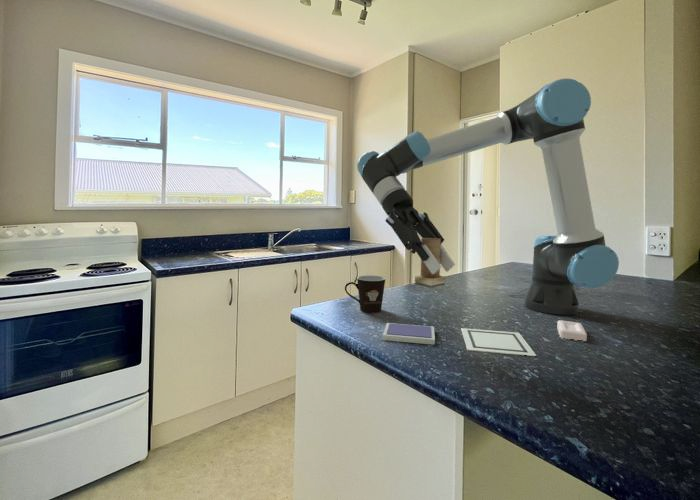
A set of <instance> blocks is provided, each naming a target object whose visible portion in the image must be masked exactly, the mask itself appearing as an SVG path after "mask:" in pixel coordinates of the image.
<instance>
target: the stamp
mask: <svg viewBox="0 0 700 500" xmlns="http://www.w3.org/2000/svg"><path fill="white" fill-rule="evenodd" d="M420 240H421V242H422V246H423V245H426V246H427V247H428V248H429V250H430V251H431V253H432V254H433V255H434V257H435V258H436V260H437V261H438V262H439V264H440V245H442V243H441V239H440V238H422V237H421V238H420ZM440 265H441V264H440ZM440 273H441V268H440V269H439V270H438V271H437V272H436V273H435V274H432V273H431V272H430V270H429V269H428V267H427V266H426V264H425V263H424V261H422V260H421V259H420V274H418V275H415V276H414V283H415V285H418V286H423V287H426V288H430V289H431V288H437V287H440V286H445V283H446V276H444V275H441V274H440Z"/></svg>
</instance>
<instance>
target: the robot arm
mask: <svg viewBox="0 0 700 500" xmlns="http://www.w3.org/2000/svg"><path fill="white" fill-rule="evenodd" d="M591 105H592V97H591V94H590V91H589V89H588V88H587V87H586V86H585V85H584V84H583V83H582V82H579V81H578V80H576V79H573V78H560V79H556V80H554V81H552V82H550V83H548V84H545V85H544V86H542V87H541V88H540V89H539V90H538V91H537V92H535V93H533V94H532V95H531V96H529V97H528V98H526V99H525V100H523V101H522V102H521V103H518V104H517V105H515V106H514V107H511V108H509V109H507V110H505V111H501V112H499V113H498V114H497V116H496V117H493V118H490V119H487V120H484V121H481V122H478V123H475V124H472V125H468V126H465V127H462V128H459V129H456V130H452V131H449V132H445V133H443V134H440V135H437V136H434V137H429V138H426V137H425V135H424V134H423V133H422V132H420V131H418V130H416V131H413V132H412V133H410V134H408V135H406V136H405V137H404V138H403V139H401V140H400V141H398V142H396V143H395V144H394V145H392V146H391V147H390V148H388V149H387V150H385V151H383V152H382V153H379V152H377V151H374V150H371V151H367V152H365V153H364V154H362V155H361V156H360V158H359V159H358V161H357V165H356V170H357V172H358V173H359V175H360V177H361V179H362V180H363V182H364V183H365V185H366V186H367V187H368V188H369V190H370V191H371V193H372V195H373V196H374V197H375V199H376V200H377V202H378V203H379V204H380V206H381V207H382V209H383V211H384V212H385V214H386V215H387V217H386V218H385V223H387V224H388V225H389V226H390V227H391V229H392V230H393V232H394V233H395V234H396V236H397V238H398V239H399V240H400V242H401V243H402V245H403V247H405V249H406V250H407V251H410V253H411V254H413V255H414V254H417V255H418V257H419V258H420V261H421V260H422V261H424V263H425V264H426V266H427V267H428V269H429V270H430V272H431V273H432V274H435V273H436V272H437V271H438V270H439V269H440V270H441V268H443V270H444V271H445V272H446V273H447V272H449V271H450V270H451V269H452V268H453V267H455V265H456V263H455V262H454V260H453V259H452V258H451V256H450V255H449V254H448V252H447V251H446V249H445V248H444V247H443V245H442V244H443V242H445V239H444V237H443V236H442V234H441V233H440V231H439V230H438V229H437V228H436V226H435V225H434V223H433V222H432V221H431V219H430V217H429V215H428V213H427V212H423V213H419V211H418V210H417V209H416V208H415V207H414V200H413V198H412V197H411V195H410V193H409V192H408V191H407V190H406V188H405V187H404V186H403V184H402V182H400V180H399V179H398V178H397V177H398V176H400V175H401V174H406V173H409V172H411V171H413V170H417V169H420V168H422V167H425V166H429V165H432V164H436V163H439V162H442V161H446V160H449V159H452V158H455V157H458V156H462V155H465V154H468V153H472V152H476V151H479V150H481V149H486V148H489V147H492V146H495V145H499V144H503V145H505V146H507V145H510V144H513V143H517V142H523V141H526V140H533V144H534V145H535V146H537V147H539V148H540V149H541V153H542V158H543V163H544V168H545V173H546V179H547V183H548V184H547V185H548V190H549V195H550V200H551V204H552V211H553V214H554V215H553V216H554V220H555V225H556V230H557V231H556V232H557V234H556V235H541V236H538V237H536V239H535V241H534V245H533V259H532V273H531V274H532V275H531V283H530V285H529V288H528V289H527V292H526V293H525V294H526V295H525V296H524V301H523V302H524V303H523V306H524V307H525V308H527V309H529V310H532V311H535V312H540V313H545V314H550V315H561V316H562V315H563V316H564V315H566V316H571V315H577V314H579V313H580V302H579V298H578V295H577V291H576V289H575V286H576V287H581V288H586V289H597V288H600V287H603V286H605V285H607V284H609V282H610V281H612V279H613V278H614V277H616V275H617V274H618V270H619V265H620V263H619V262H620V261H619V257H618V254H617V253H616V252H615V250H613V249H612V248H611V247H609V246H607V245H606V239H605V236H604V235H605V234H604V233H603V232H602V231H601V230H599V229H597V228H596V224H595V220H594V219H595V218H594V214H593V208H592V202H591V196H590V190H589V185H588V181H587V174H586V173H587V172H586V169H585V163H584V162H585V161H584V156H583V152H582V151H583V150H582V145H581V141H580V138H581V136H582V135H583V133H584V132H585V131H586V126H585V121H584V118H585V117H586V116H587V114H588V112H589V110H591V109H590V108H591ZM420 237H421V238H440V239H441V245H440V264H439V262H438V261H437V260H436V258H435V257H434V255H433V254H432V253H431V251H430V250H429V248H428V247H427V246H426V245H423V246H422V242H421V238H420Z"/></svg>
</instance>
